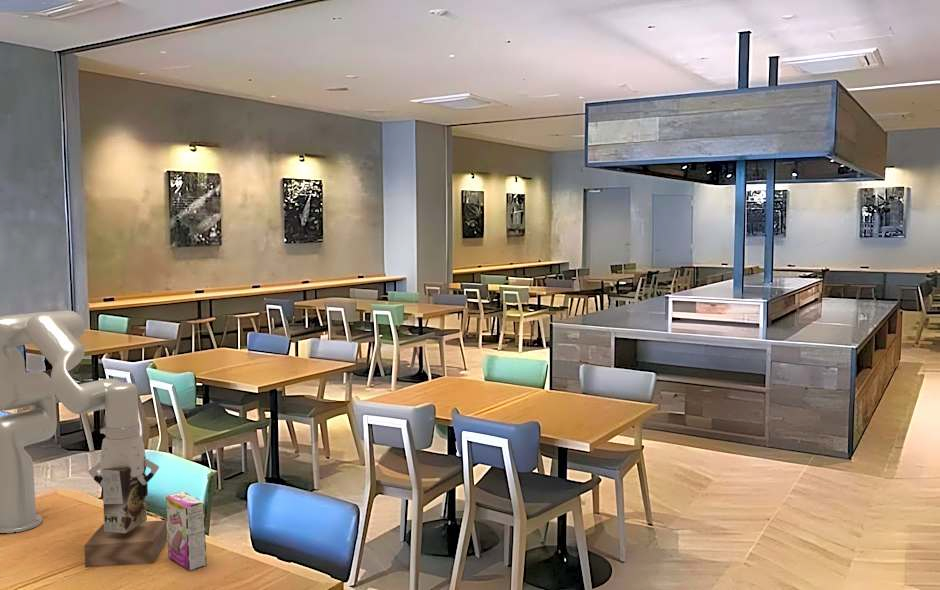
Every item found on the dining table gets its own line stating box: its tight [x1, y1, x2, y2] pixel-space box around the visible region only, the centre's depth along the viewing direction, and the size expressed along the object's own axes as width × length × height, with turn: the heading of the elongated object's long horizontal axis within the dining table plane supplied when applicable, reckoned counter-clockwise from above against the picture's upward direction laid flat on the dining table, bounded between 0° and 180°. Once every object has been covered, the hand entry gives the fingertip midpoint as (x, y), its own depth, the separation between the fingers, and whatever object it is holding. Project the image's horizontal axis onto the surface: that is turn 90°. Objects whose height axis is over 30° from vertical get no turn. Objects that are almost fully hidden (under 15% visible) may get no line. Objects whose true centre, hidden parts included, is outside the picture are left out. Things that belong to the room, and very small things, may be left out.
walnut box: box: [83, 519, 168, 568], centre depth 197 cm, size 16×14×6 cm
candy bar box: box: [165, 491, 207, 572], centre depth 191 cm, size 11×5×16 cm, turn 47°
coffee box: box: [102, 468, 148, 533], centre depth 196 cm, size 9×6×16 cm
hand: (125, 499), depth 196 cm, fingers open, 8 cm apart
